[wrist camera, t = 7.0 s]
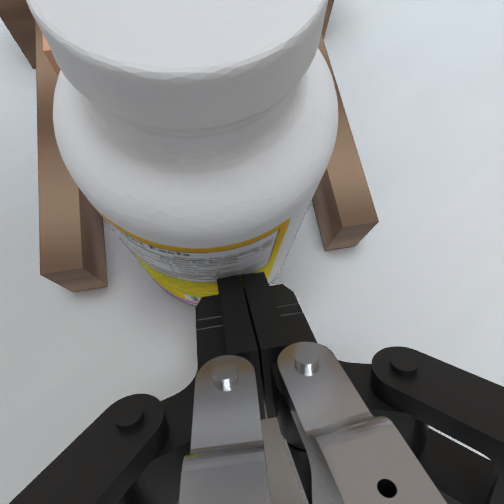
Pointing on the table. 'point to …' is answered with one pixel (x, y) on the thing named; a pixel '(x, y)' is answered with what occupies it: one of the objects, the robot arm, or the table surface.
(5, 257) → the table surface
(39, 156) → the cradle
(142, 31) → the supplement bottle
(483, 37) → the table surface
